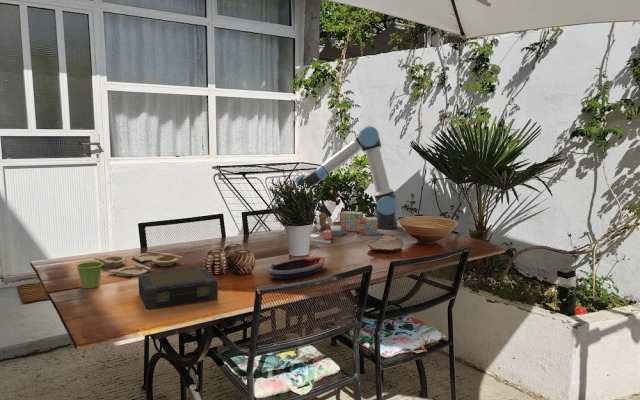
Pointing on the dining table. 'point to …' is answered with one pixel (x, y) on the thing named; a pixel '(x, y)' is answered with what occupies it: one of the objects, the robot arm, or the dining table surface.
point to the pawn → (322, 222)
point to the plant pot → (90, 274)
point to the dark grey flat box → (177, 288)
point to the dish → (296, 268)
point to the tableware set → (138, 268)
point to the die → (327, 234)
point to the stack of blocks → (359, 223)
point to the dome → (336, 228)
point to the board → (334, 233)
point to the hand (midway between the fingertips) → (326, 227)
